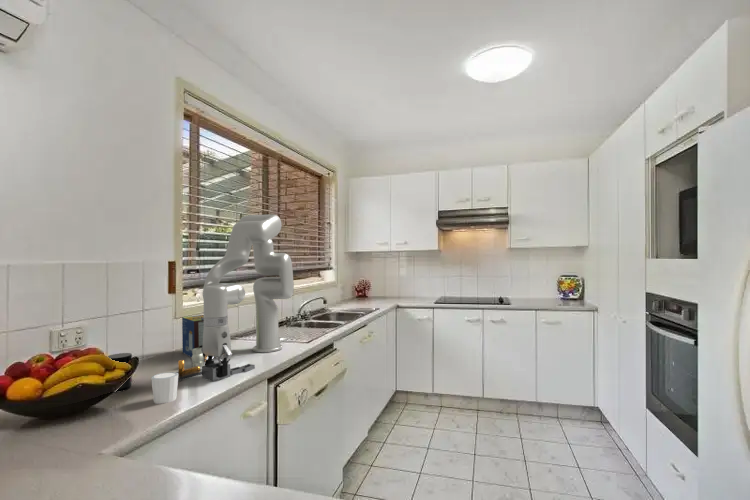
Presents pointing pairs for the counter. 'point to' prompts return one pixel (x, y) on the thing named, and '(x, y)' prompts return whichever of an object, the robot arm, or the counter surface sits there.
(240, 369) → the chain tail
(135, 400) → the counter surface
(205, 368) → the end link
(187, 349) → the protein box
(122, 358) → the supplement container
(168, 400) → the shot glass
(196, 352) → the valve
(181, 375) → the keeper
